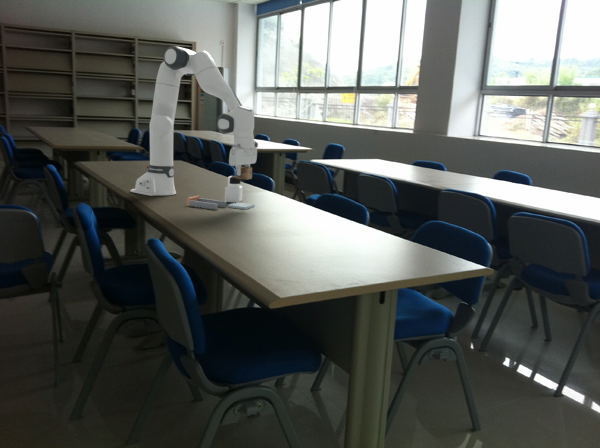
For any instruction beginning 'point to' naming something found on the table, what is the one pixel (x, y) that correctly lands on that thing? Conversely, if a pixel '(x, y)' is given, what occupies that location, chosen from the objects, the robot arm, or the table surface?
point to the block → (245, 173)
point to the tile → (241, 205)
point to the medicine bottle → (233, 190)
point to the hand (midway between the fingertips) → (242, 174)
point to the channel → (205, 203)
